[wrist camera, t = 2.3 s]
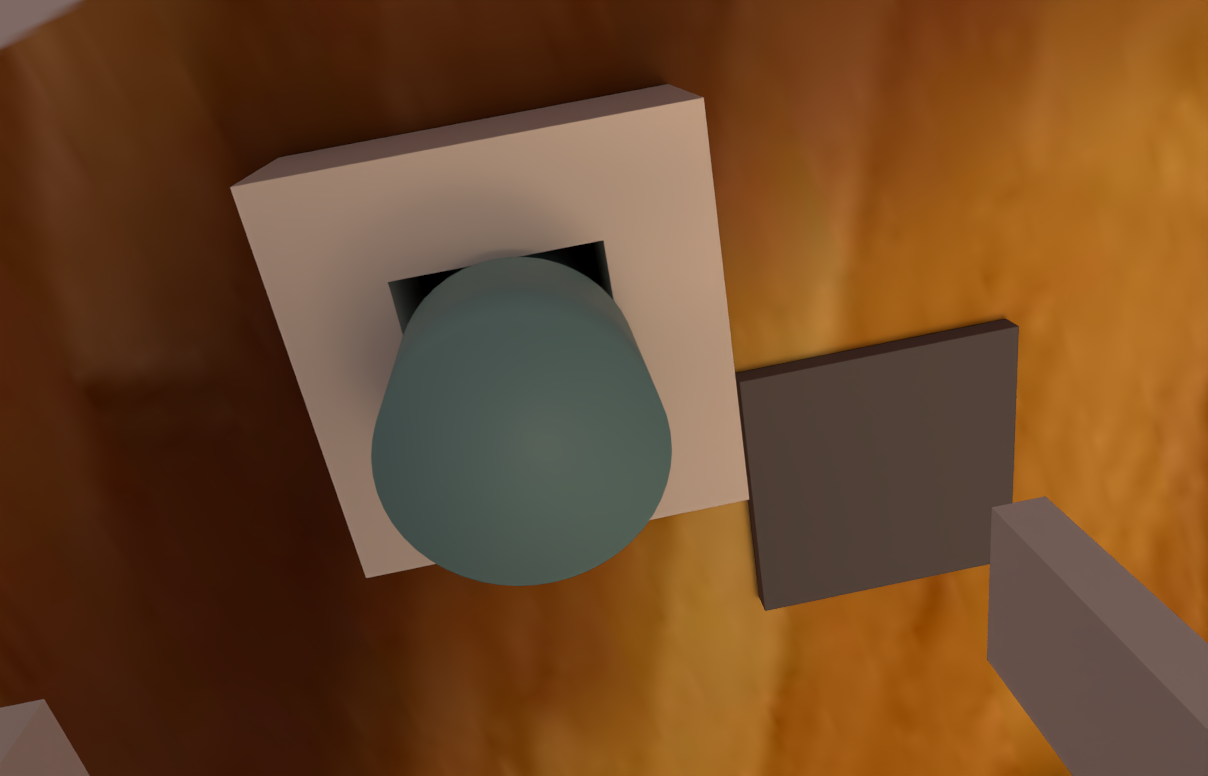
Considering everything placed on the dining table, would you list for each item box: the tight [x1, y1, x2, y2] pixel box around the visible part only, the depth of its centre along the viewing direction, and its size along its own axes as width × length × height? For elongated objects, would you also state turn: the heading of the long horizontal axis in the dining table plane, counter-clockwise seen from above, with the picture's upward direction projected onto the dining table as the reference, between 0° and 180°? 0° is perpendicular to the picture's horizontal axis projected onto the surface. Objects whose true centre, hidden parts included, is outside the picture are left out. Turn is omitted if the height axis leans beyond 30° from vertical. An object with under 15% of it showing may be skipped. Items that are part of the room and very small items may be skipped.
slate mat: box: [735, 319, 1019, 611], centre depth 32 cm, size 10×10×1 cm
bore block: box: [230, 84, 749, 578], centre depth 26 cm, size 12×12×5 cm
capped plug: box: [371, 248, 672, 586], centre depth 23 cm, size 6×6×11 cm
